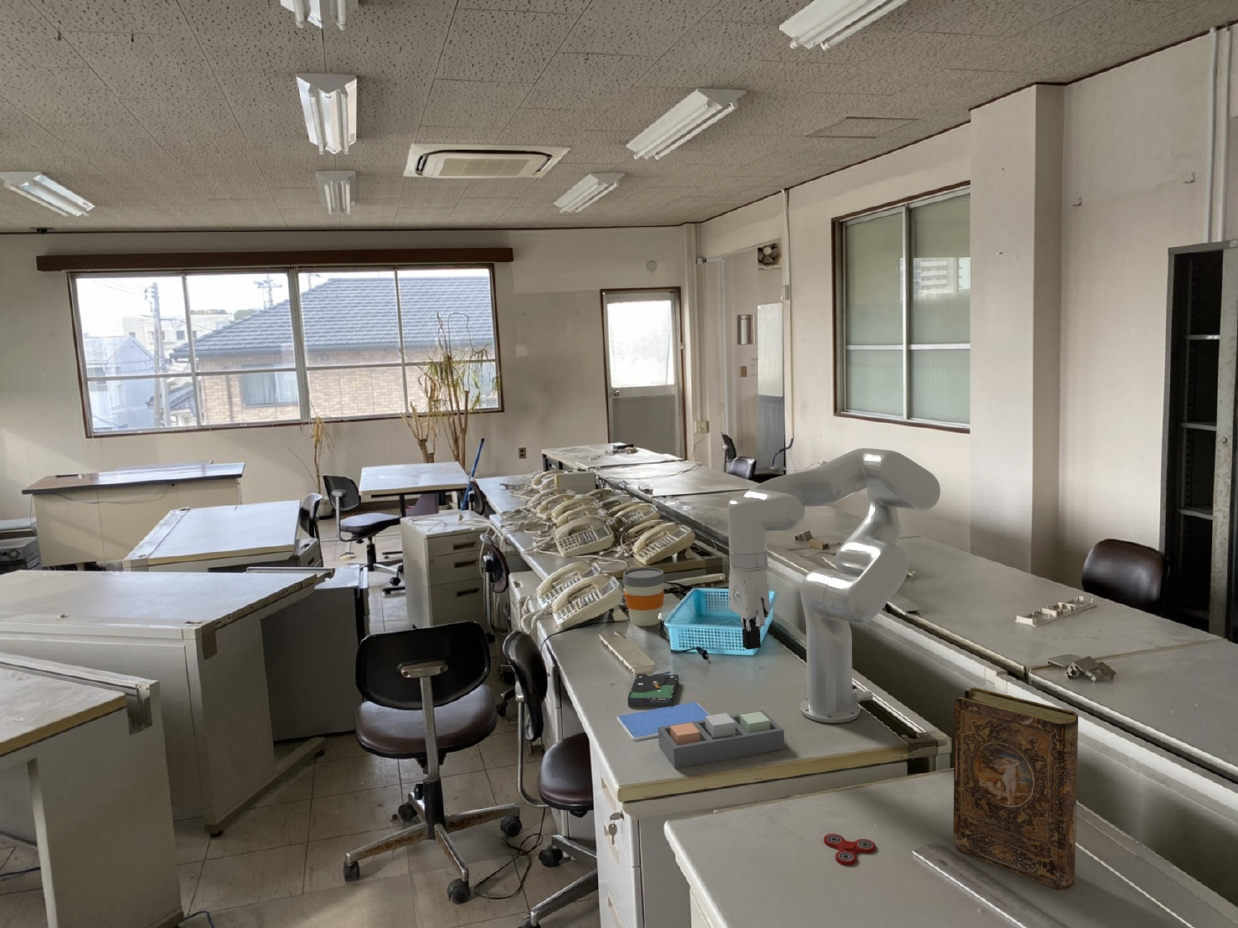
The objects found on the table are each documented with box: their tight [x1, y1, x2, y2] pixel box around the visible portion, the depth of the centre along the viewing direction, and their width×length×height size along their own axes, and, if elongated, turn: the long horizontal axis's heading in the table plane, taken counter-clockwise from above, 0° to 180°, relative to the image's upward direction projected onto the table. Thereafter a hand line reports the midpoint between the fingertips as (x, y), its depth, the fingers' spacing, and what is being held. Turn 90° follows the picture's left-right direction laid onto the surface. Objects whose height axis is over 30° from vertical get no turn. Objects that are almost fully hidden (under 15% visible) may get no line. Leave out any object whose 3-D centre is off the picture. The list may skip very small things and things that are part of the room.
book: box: [952, 686, 1079, 891], centre depth 126 cm, size 16×6×25 cm, turn 45°
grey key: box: [705, 712, 735, 738], centre depth 169 cm, size 5×5×2 cm
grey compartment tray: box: [658, 710, 785, 769], centre depth 169 cm, size 23×10×4 cm, turn 105°
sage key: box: [740, 711, 770, 734], centre depth 171 cm, size 5×5×2 cm
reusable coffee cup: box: [622, 567, 666, 627], centre depth 252 cm, size 13×13×15 cm
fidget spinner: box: [823, 833, 877, 867], centre depth 133 cm, size 8×7×1 cm
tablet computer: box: [616, 701, 711, 742], centre depth 182 cm, size 19×13×1 cm, turn 107°
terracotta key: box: [670, 723, 700, 746], centre depth 167 cm, size 5×5×2 cm
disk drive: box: [627, 673, 679, 709], centre depth 197 cm, size 10×3×15 cm
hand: (751, 647), depth 170 cm, fingers closed
